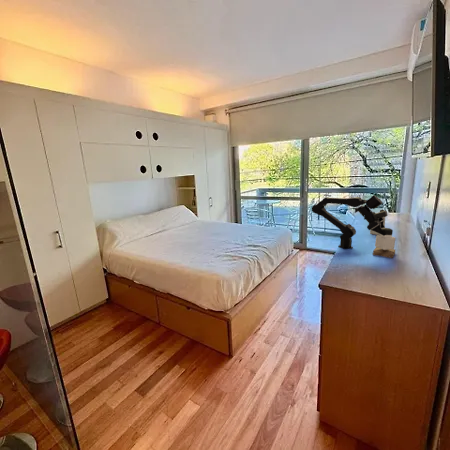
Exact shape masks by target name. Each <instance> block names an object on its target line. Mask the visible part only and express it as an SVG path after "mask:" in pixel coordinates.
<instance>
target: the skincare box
mask: <svg viewBox="0 0 450 450" xmlns="http://www.w3.org/2000/svg"><path fill="white" fill-rule="evenodd" d="M383 218H384V220H382V221H384V226H385V225H386V217H383ZM385 227H386V226H385ZM372 229H373V228H372ZM369 234H370V235H376V236H377V235H380V234H379V233H377V232H375V231H372V230H369Z"/></svg>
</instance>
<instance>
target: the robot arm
mask: <svg viewBox="0 0 450 450" xmlns="http://www.w3.org/2000/svg"><path fill="white" fill-rule="evenodd" d="M328 204H333V205H345V206H349V207H352V208H354V213H355V214H356V213H359V214H360V215H361V216H362V217H363V220H366V221H367V223H368V224H367V226H366V228H367V230H368V231H370V230H372V231H375V232H377V233H379V234H381V235H383V236H385V235H386V234H385V233H384V231H383V230H382V228H386V226H384V221H382V220H384V218H383V217H385V218H387V216H388V215H389V214H388V211H387V210H385V209H380V210H379V211H378V212H375V211H373V210H375V209H376V208H378V207H379V206H381V205H383V201H382V200H381V198H379V197H378V196H376V195H375V194H373V195H372V196H371V197H369V198H368V199H362V197H359V196H354V197H349V198H348V197H346V198H343V197H329V196H327V197H324V198H323V199H322V200H321V201H319V202H318V203H317V204H314V205H312V206H311V211H312V213H314V214H316V215H318V216H321V217H322V218H324V219H326V220H327V221H328V222H329V223H331V224H332V226H333V225H334V226H335V227H336V228H337V229H339V231H340V232H341V235H340V236H339V238H340V242H339V243H340V244H339V245H338V247H339V248H341V249H344V250H348V249H349V250H350V249H353V248H354V246H353V245H352V243H353V242H352V241H353V236H355V235H356V233H357V230H356V228H355V227H354V226H352V224H350V223H348V224H345V222H342V221H341V220H339V219H338V218H337V217H335V216H334V215H333V214H331V213H330V212H329V211H328V210H327V209H326V206H327V205H328ZM372 209H373V210H372ZM372 228H373V229H372Z"/></svg>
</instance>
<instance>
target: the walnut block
mask: <svg viewBox="0 0 450 450" xmlns="http://www.w3.org/2000/svg"><path fill="white" fill-rule="evenodd" d="M395 254H396V249H395V248H394V249H388V250H383V249H380V248H378V247H376V246H375V248H374V249H373V251H372V256H378V257H383V258H387V259H388V258H389V259H393V258H394V257H395Z"/></svg>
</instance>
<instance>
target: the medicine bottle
mask: <svg viewBox="0 0 450 450" xmlns="http://www.w3.org/2000/svg"><path fill="white" fill-rule="evenodd" d="M382 230H383V231H384V233H385V234H386V235H385V236H383V235H381V234H380V235H376V236H375V244H374V247H375V248H376V247H378V248H380V249H383V250H388V249H395V244H396V239H397V238H396V237H395V236H393V232H394V230H393V229H392V228H390V227H385V228H382Z"/></svg>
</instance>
